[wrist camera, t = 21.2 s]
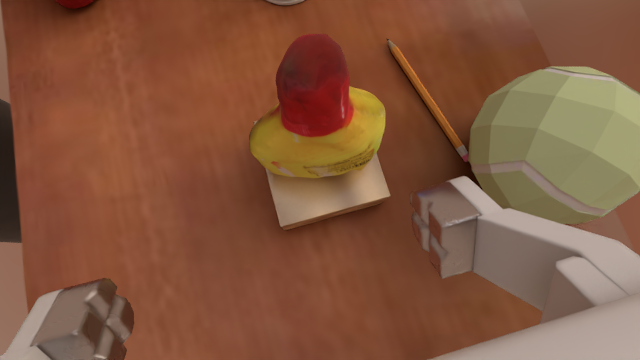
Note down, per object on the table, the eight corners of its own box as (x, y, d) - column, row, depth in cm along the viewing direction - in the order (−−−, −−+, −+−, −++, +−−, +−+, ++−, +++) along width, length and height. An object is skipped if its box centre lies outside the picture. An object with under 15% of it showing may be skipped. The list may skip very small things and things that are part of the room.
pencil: (473, 157, 42) (391, 35, 46) (470, 159, 42) (387, 35, 45) (467, 161, 43) (386, 41, 47) (463, 163, 42) (382, 40, 46)
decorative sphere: (498, 181, 27) (423, 174, 42) (650, 269, 28) (525, 232, 43) (591, 9, 27) (483, 64, 42) (739, 106, 28) (583, 125, 43)
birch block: (284, 230, 41) (280, 227, 36) (260, 136, 43) (253, 121, 38) (382, 203, 42) (390, 196, 37) (352, 112, 44) (357, 94, 39)
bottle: (266, 193, 37) (207, 121, 17) (259, 136, 38) (197, 10, 19) (377, 176, 37) (443, 88, 18) (366, 120, 39) (416, -18, 19)
